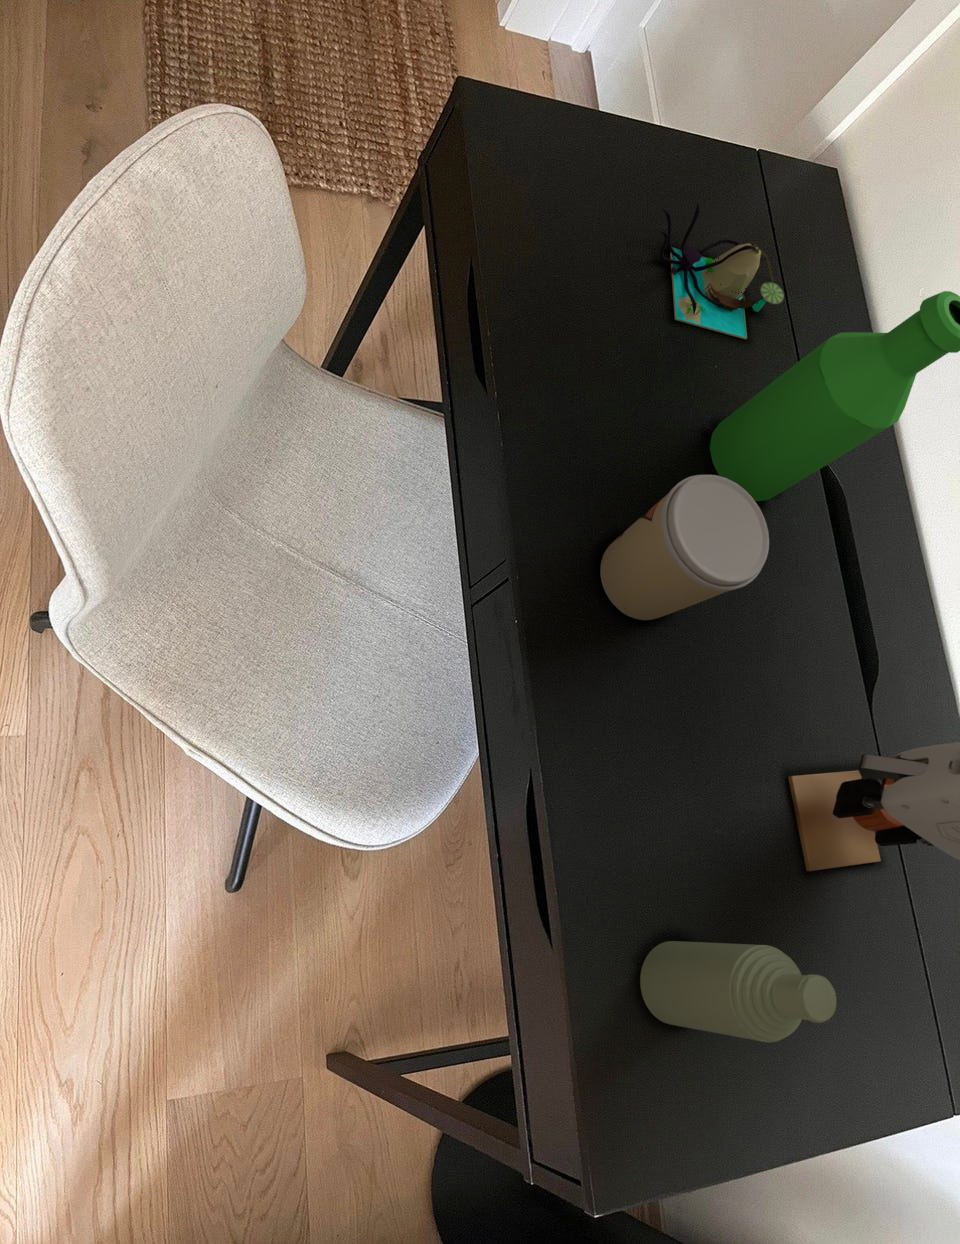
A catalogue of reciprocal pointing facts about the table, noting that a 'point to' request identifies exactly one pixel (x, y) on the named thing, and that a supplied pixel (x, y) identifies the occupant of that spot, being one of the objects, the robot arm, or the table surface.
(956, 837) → the robot arm
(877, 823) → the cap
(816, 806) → the coaster
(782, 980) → the sauce bottle
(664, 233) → the diorama
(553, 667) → the table surface
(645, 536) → the coffee cup
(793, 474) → the bottle
